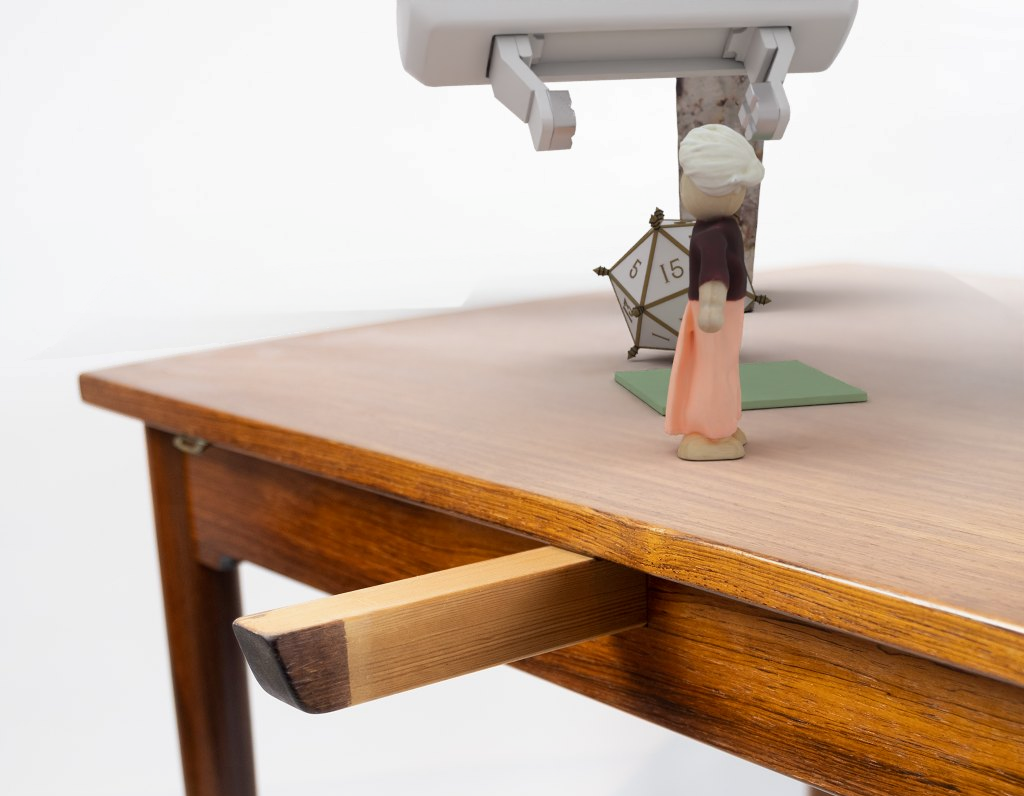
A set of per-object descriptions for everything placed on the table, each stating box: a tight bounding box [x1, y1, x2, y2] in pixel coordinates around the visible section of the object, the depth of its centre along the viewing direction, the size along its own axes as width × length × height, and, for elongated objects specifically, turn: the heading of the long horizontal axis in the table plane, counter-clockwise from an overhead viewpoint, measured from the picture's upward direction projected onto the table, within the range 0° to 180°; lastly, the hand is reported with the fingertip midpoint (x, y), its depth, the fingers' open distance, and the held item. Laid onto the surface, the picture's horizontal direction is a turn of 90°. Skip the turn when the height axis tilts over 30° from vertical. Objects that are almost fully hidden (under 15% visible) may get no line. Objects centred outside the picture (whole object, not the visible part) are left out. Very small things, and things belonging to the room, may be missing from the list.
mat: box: [613, 359, 869, 416], centre depth 75 cm, size 10×10×1 cm
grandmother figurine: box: [663, 124, 766, 461], centre depth 60 cm, size 8×4×13 cm, turn 178°
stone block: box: [675, 75, 765, 312], centre depth 103 cm, size 13×7×20 cm, turn 176°
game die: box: [592, 206, 772, 361], centre depth 83 cm, size 9×8×10 cm
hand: (665, 135), depth 63 cm, fingers open, 8 cm apart
